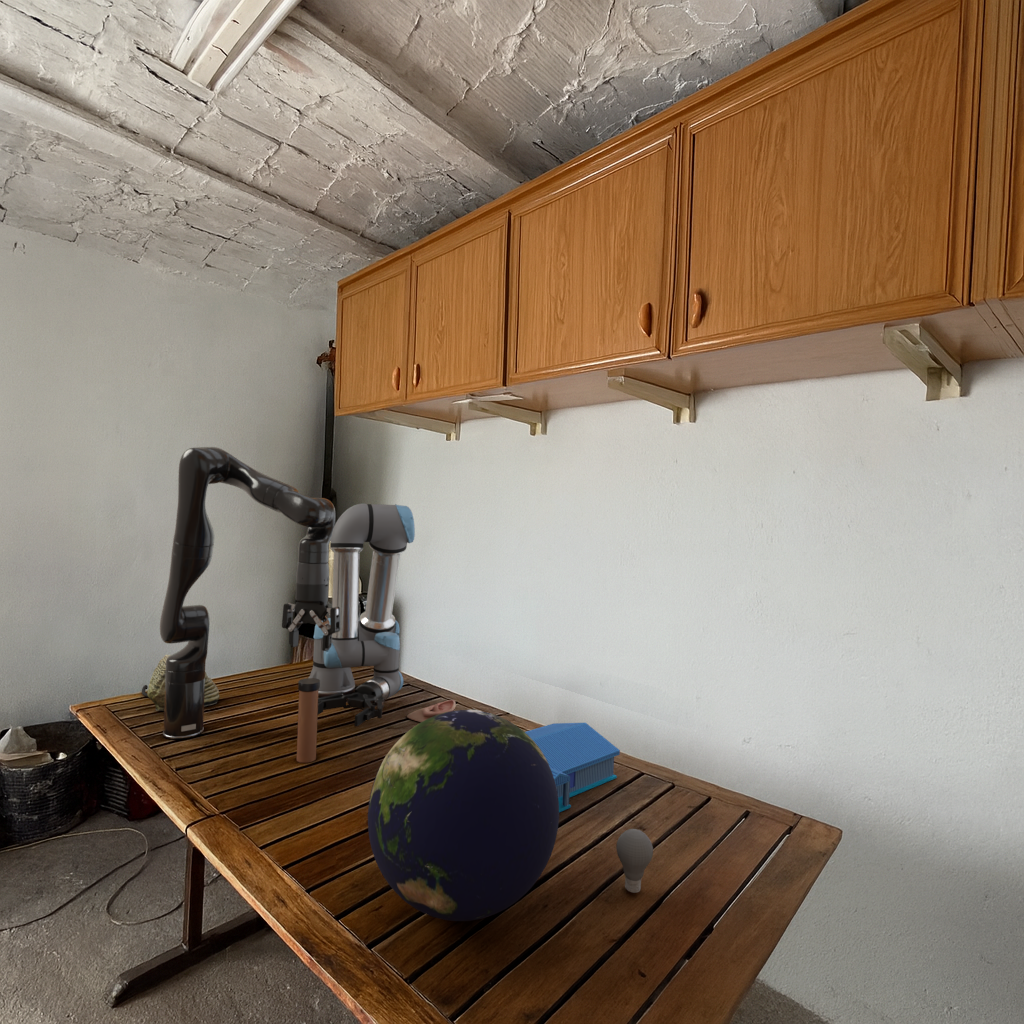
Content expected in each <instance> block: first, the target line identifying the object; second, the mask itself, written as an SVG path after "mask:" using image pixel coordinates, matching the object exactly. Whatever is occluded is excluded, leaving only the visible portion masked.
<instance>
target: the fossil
mask: <svg viewBox="0 0 1024 1024" xmlns="http://www.w3.org/2000/svg"><path fill="white" fill-rule="evenodd" d="M171 655H172V654H165V655H164V656H163V657H162V658H161V659H160V660H159V662H158V663H157V666H156V667H155V669H154V670H153V672H152V675H151V677H150V680H149V684H148V688H147V695H148V697H147V698H148V699H149V700H150V701H152V703H153V704H154V706H155V711H158V712H159V711H162V712H163V711H164V705H165V674H166V660H167V658H168V657H169V656H171ZM220 698H221V696H220V690H219V688H218V686H217V685H216V683H215V682H214V681H213V679H212V678H211V677H209V675H208V674H207V672H206V671H205V693H204V707H207V706H213V705H215V704H217V703H218V701H219V699H220Z"/></svg>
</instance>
